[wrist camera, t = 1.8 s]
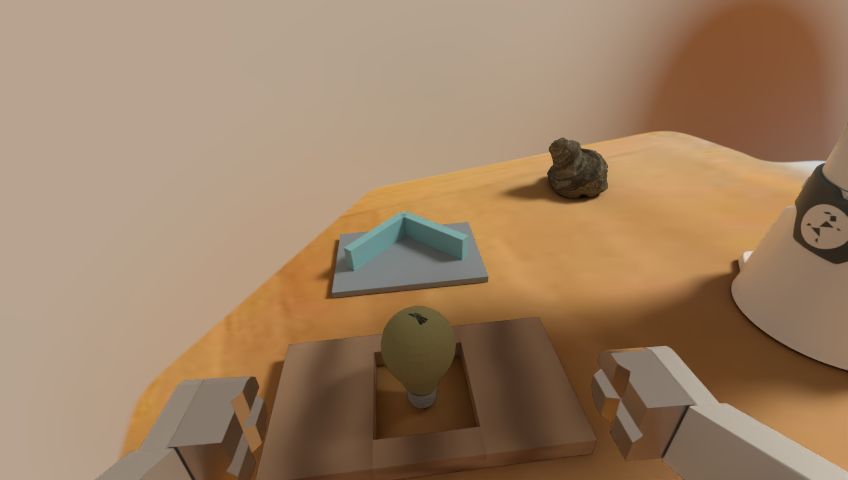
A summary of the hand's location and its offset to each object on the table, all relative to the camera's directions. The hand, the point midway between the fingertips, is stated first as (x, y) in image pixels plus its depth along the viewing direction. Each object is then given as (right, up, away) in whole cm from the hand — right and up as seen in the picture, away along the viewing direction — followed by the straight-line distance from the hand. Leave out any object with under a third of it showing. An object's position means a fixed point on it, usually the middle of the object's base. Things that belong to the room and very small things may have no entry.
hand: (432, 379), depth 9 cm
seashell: (+26, +11, +53) cm, 60 cm away
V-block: (-2, +1, +40) cm, 40 cm away
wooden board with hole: (0, -10, +23) cm, 26 cm away
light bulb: (0, -10, +24) cm, 26 cm away
